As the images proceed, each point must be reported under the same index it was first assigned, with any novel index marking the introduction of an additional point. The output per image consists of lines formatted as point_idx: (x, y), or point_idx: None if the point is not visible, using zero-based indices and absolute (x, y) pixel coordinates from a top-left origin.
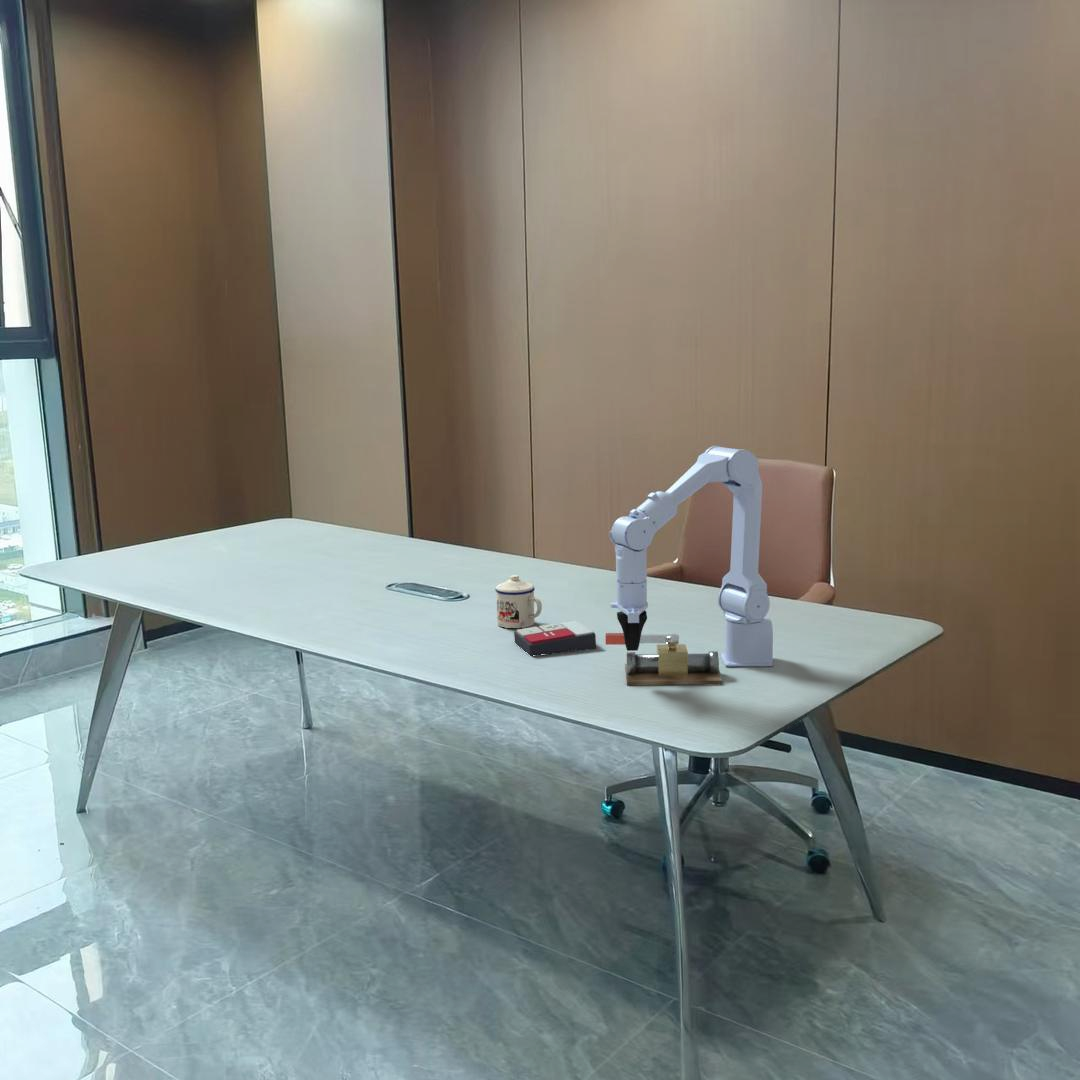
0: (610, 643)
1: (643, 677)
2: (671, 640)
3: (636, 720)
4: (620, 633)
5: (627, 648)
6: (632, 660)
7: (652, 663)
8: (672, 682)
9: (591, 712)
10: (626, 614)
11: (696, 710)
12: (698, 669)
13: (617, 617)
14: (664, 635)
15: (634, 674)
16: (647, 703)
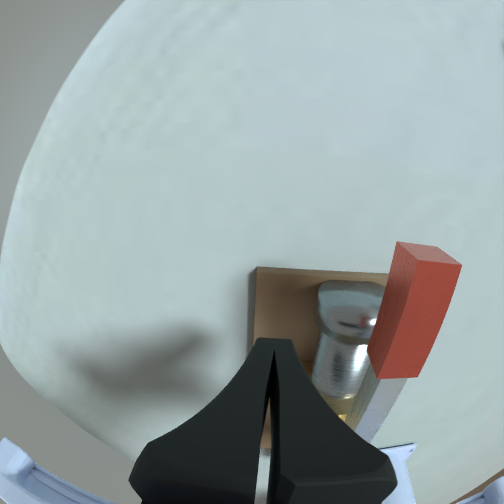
0: (392, 269)
1: (290, 323)
2: None
3: (31, 259)
4: (428, 341)
5: (254, 345)
6: (325, 323)
7: (314, 371)
8: None
9: (52, 159)
10: (23, 487)
11: (99, 373)
12: None
13: (162, 469)
14: None
15: None
16: (114, 299)
